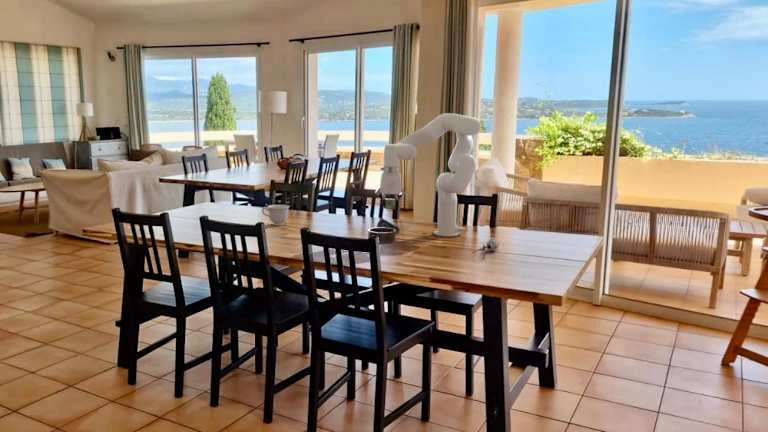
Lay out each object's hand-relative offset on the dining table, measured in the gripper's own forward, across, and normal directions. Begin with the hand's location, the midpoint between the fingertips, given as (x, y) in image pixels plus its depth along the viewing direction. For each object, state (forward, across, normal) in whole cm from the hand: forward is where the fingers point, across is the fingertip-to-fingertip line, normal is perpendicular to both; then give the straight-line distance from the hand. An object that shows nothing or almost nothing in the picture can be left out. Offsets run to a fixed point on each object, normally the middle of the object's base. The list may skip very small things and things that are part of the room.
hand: (389, 207), depth 278 cm
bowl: (+16, -3, -1) cm, 16 cm away
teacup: (+17, -58, +39) cm, 72 cm away
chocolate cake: (+16, +2, +20) cm, 25 cm away
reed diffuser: (+16, +40, -29) cm, 52 cm away
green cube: (0, 0, 0) cm, 0 cm away
